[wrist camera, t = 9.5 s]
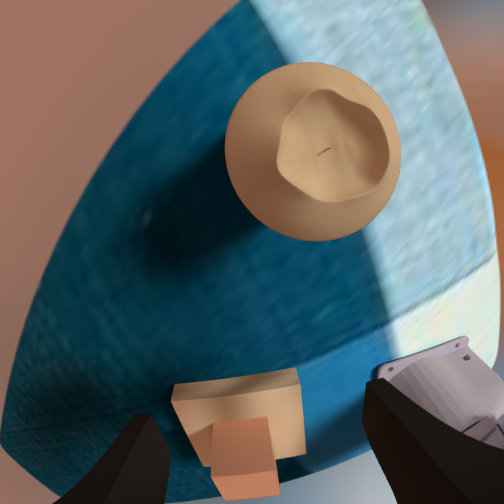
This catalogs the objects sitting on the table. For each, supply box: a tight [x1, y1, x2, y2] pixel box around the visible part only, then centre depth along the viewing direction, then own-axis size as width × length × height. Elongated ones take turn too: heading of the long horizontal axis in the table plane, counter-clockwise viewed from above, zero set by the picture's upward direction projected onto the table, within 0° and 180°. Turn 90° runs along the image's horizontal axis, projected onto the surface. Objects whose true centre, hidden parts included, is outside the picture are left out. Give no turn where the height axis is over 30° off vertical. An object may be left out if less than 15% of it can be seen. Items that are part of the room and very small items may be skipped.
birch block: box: [171, 368, 306, 467], centre depth 21 cm, size 9×9×2 cm
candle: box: [225, 62, 401, 242], centre depth 12 cm, size 6×6×10 cm
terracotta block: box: [211, 416, 281, 501], centre depth 18 cm, size 4×4×5 cm
